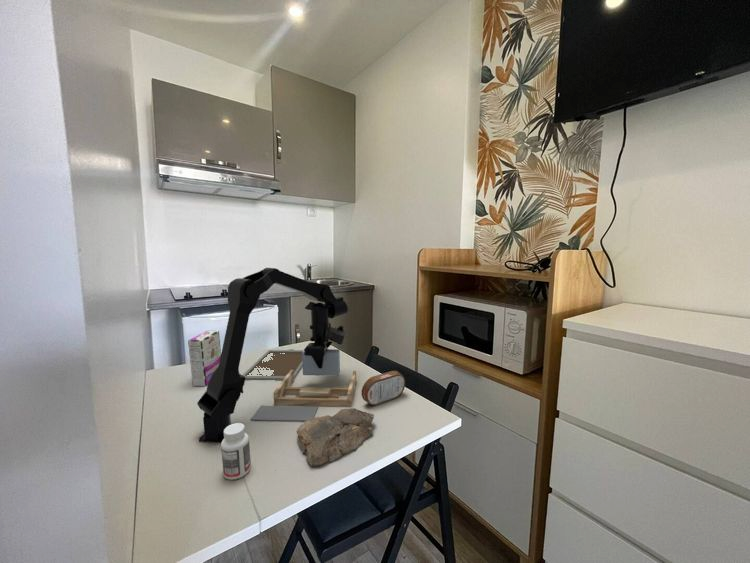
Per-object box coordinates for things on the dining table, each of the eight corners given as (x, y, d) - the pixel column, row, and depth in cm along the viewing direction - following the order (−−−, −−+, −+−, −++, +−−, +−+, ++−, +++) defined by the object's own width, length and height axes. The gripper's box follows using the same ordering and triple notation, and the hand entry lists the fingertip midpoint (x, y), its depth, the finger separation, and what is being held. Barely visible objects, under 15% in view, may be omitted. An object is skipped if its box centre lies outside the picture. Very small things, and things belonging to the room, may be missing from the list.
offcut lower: (336, 405, 91) (336, 399, 90) (294, 404, 92) (294, 397, 91) (338, 400, 94) (338, 394, 93) (297, 398, 95) (297, 392, 94)
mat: (311, 422, 81) (311, 420, 81) (250, 420, 82) (250, 419, 82) (317, 407, 88) (317, 406, 88) (261, 406, 89) (261, 405, 89)
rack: (350, 406, 89) (350, 393, 88) (274, 405, 90) (273, 392, 89) (356, 381, 105) (356, 370, 104) (291, 380, 106) (290, 369, 105)
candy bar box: (210, 372, 113) (206, 330, 111) (223, 372, 113) (220, 330, 111) (191, 386, 102) (187, 340, 100) (205, 387, 102) (202, 340, 99)
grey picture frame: (239, 377, 106) (270, 347, 136) (239, 381, 106) (271, 351, 136) (293, 377, 106) (313, 348, 135) (293, 382, 106) (313, 351, 136)
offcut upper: (328, 398, 91) (328, 393, 90) (299, 397, 92) (299, 391, 91) (330, 394, 93) (330, 388, 93) (302, 393, 94) (302, 387, 94)
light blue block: (338, 375, 100) (338, 352, 99) (302, 375, 101) (302, 352, 100) (339, 371, 103) (339, 349, 102) (305, 371, 104) (304, 349, 103)
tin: (400, 391, 98) (400, 367, 97) (406, 395, 95) (407, 370, 94) (360, 405, 90) (360, 378, 89) (366, 410, 87) (366, 382, 86)
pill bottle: (242, 458, 68) (239, 417, 67) (256, 468, 65) (253, 426, 63) (218, 473, 64) (214, 430, 62) (231, 485, 60) (228, 440, 59)
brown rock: (359, 412, 87) (290, 436, 76) (359, 396, 86) (290, 418, 75) (388, 440, 75) (311, 472, 64) (388, 422, 74) (311, 452, 63)
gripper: (339, 329, 90) (340, 379, 92) (348, 314, 108) (348, 356, 110) (302, 329, 90) (304, 378, 92) (317, 314, 109) (318, 355, 111)
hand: (321, 366), depth 102 cm, fingers closed on light blue block, 3 cm apart
